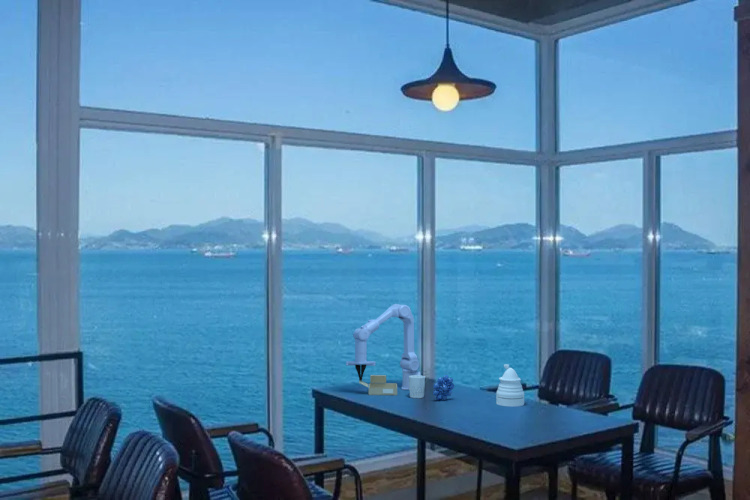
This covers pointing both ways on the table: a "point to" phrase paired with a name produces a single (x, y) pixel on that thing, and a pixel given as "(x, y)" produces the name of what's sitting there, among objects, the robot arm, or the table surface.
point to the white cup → (416, 386)
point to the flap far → (363, 383)
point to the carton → (382, 388)
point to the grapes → (443, 387)
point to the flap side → (377, 378)
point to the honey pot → (510, 389)
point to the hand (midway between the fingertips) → (360, 380)
